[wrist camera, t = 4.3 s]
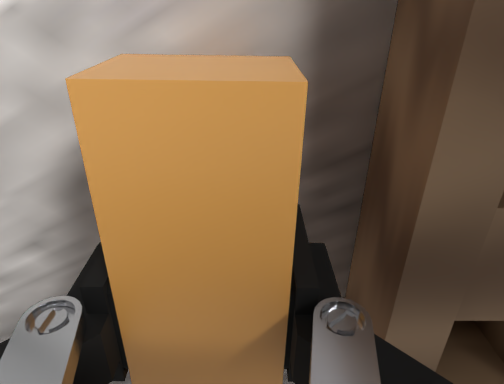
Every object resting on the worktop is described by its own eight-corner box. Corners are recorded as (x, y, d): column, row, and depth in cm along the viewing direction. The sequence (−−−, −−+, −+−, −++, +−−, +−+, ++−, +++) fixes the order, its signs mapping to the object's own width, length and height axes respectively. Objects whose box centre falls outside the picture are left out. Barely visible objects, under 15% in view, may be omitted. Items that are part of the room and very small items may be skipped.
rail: (433, -197, 10) (563, -333, 6) (726, -188, 10) (1052, -317, 6) (330, 383, 21) (349, 473, 17) (468, 382, 21) (520, 472, 17)
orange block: (158, 38, 12) (65, 78, 6) (277, 39, 12) (308, 81, 6) (184, 303, 18) (149, 466, 12) (266, 304, 18) (275, 466, 12)
